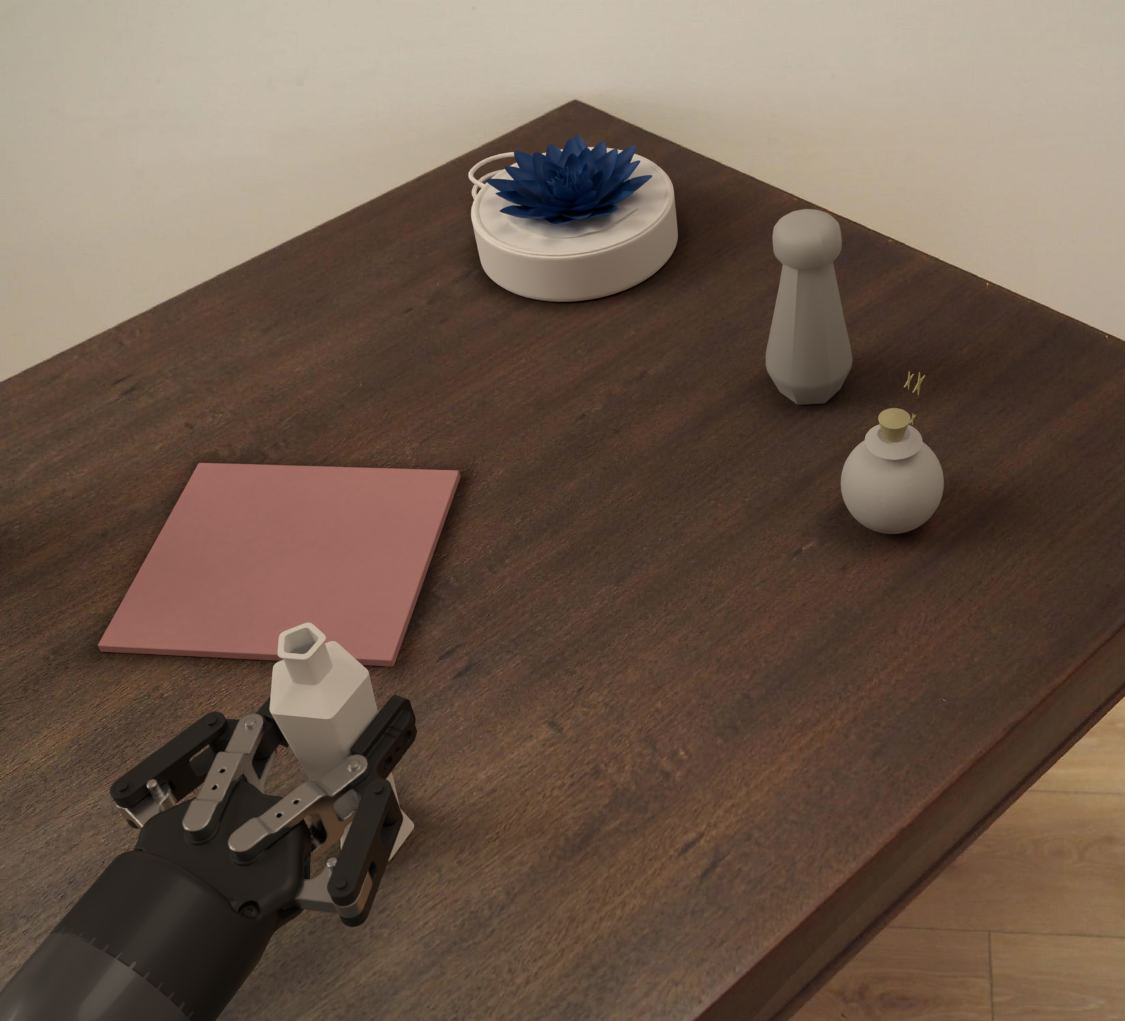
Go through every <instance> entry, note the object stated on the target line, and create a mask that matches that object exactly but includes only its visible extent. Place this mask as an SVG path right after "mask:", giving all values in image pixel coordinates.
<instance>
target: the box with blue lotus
mask: <svg viewBox="0 0 1125 1021" xmlns="http://www.w3.org/2000/svg"><path fill="white" fill-rule="evenodd" d="M606 144H607V143H605V141H601V142H598V143H597V144H596V145H595V146H587V143H586V142H585V140H584V139H583V137H582V136H581V135H579V134H575V135H573V137H570V138H569V139H567V141H566V142H565V144H564V146H563V148H562V149H561V148H559V147H558V146H556V145H555V144H552V143H549V144H548V145H547V146H546V151H545V152H542V153H541V152H538V151H534V152H533V153H532V154H529V153H527V152H524V151H520V150H514V151H510V152H504V153H498V154H495V155H492V156H489V157H486V158H484V159H482V160H480V161H479V162H477V163H476V164H475V165H474V166H472V167H471V168H470V169H469V171H468V175H467V177H468V179H469V181H470V182H471V183H472V184H473V186H472V189H471V197H472V198H473V201H472V205H471V209H470V217H471V218H470V219H471V223H472V227H473V233H474V237H475V243H476V246H477V252H478V256H479V261H480V264H481V267H482V269H483V271H484V272H485V274H486V276H488V278H489V279H491V280H492V281H493V282H494V283H495V284H497V285H498V286H499V287H501V288H502V289H505V290H506V291H508V292H511V294H512V293H513V294H515V295H517V296H521V297H524V298H528V299H531V300H537V301H544V302H557V303H569V302H581V301H583V302H584V301H589V300H595V299H601V298H605V297H609V296H612V295H615V294H618V293H620V292H621V293H622V292H624V291H626V290H628V289H631V288H634V287H635V286H637V285H639V284H641V283H643V282H644V281H646V280H647V279H649V278H650V277H652V276H653V275H655V274H656V273H657V272H658V271H659V270H660V269H661V268H662V267H663V266H664V265H666V264H667V262H668V261H669V260H670V258H671V257H672V255H673V254H674V251H675V249H676V247H677V244H678V239H679V230H678V220H677V209H676V200H675V190H674V185H673V183H672V180H671V178H670V177H669V175H668V174H667V173H666V172H665V170H664V169H662V168H661V167H660V166H659V165H657V163H656V162H654V161H652V160H650V159H649V158H646V157H644V156H642V155H639V154H637V153H636V150H637V145H635V144H633V145H630V146H629V147H626V148H625V149H618V148H612V147H611V148H610V147H607V145H606ZM506 158H514V159H515V162H514V163H513V164H511V165H504V169H498V170H494V171H491V172H489V173H486V174H484V175H483V176H481V177H480V178H479V179H476V177H475V176H474V174H475V172H477V170H479V168H481V167H482V166H485V165H486V164H488V163H491V162H493V161H497V160H501V159H506ZM484 182H486V183H484ZM479 188H480V190H478V189H479ZM477 192H478V193H477Z"/></svg>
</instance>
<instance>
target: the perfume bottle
mask: <svg viewBox="0 0 1125 1021" xmlns="http://www.w3.org/2000/svg"><path fill="white" fill-rule="evenodd" d="M325 640H326V636H325V635H324V634H323V633H322V632H321V631H320V630H319V629H318V628H317V627H316V626H314V625H313V624H312V623H304V624H301V625H299V626H296V627H294V628H291V629H289V630H286V631H284V632H282V633H281V634H280V635H279V640H278V656H279V657H280V658H283V660H282V661H277V662H276V663H275V664H274V665H273V666H272V674H271V686H270V687H271V688H270V696H271V697H270V696H269V697H270V713H271V714H272V716H273V718H274V719H275V721H276V723H277V725H278V726H279V728H280V730H281V732H282V733H283V735H284V737H285V739H286V740H287V742H288V744H289V746H288V747H290V749H291V750H292V753H293V755H294V756H295V758H296V759H297V761H298V763H299V765H300V766H301V768H302V770H303V772H304V773H305V775H306V778H308V780H312V781H317V780H319V779H320V778H322V777H323V776H324V775H325V774H327V773H328V772H329V771H331V770H332V769H333V768H334V767H336V766H337V765H338V764H340V763H341V762H342V761H343V760H345V759H346V758H347V757H349V756H352V754H351V751H350V749H351V747H352V746H353V745H354V743H355V742H356V741H357V740H358V738H359V737H360V736H361V735H362V733H363V732H364V731H365V729H366V728H367V727H368V726H369V724H370V723H371V722H372V720H373V719H374V718H375V717H376V715H377V714H378V713H379V710H378V707H377V706H378V705H377V701H376V698H375V693H374V689H373V688H374V687H373V685H372V681H371V675H370V671H369V670H368V669H367V668H366V666H365V665H362V664H360V663H359V662H358V661H357V660H356V659H355V658H354V657H353V656H352V655H350V654H349V653H348V652H347V651H346V650H345V649H344V648H343V647H342V646H341V645H339V644H338V643H337V642H335V641H330V642H327V643H324V642H325ZM386 780H388V781H389V782H390V783H391V786H392V788H393V791H394V793H395V796H396V799H397V801H398V804H399V807H400V808H401V805H400V801H399V798H398V794H397V789H396V784H395V781H394V776H393V771H392V772H391V773H390V774H389V776H388V777H387V778H386ZM401 812H402V815H403V822H402V825H401V828H400V830H399V833H398V836H397V839H396V841H395V844H394V847H393V850H392V852H391V855H390V858H389V861H388V863H389V862H390V861H391V860H392V858H394V856H395V855H396V853H397V852H398V851H399V849H400V848H401V846H402V845H403V844H404V842H405V841H406V839H407V838H408V837H409V835H411V833H412V831H413V830H414V828H415V824H414V822H413V820H411V819H410V818H409V816H407V814H406V813H405V812H404V811H403V810H402V809H401ZM351 823H352V822H351ZM351 823H350V824H348V825H347V826H346V828H345V830H344V834H343V836H342V837H341V839H340V850H341V849H342V846H343V844H344V841H345V839H346V836H347V834H348V831H349V829H350V826H351Z"/></svg>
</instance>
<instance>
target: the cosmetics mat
mask: <svg viewBox="0 0 1125 1021" xmlns="http://www.w3.org/2000/svg"><path fill="white" fill-rule="evenodd" d="M460 480H461V474H460V470H456V469H455V470H454V469H424V468H423V469H422V468H421V469H420V468H394V467H393V468H389V467H388V468H387V467H359V466H358V467H354V466H323V465H320V466H319V465H292V464H291V465H290V464H289V465H288V464H287V465H286V464H259V463H258V464H253V463H252V464H250V463H221V462H218V463H217V462H215V463H214V462H198V463H197V465H196V467H195V469H194V471H193V472H192V474H191V476H190V478H189V479H188V482H187V483H186V485H185V487H184V489H183V491H182V492H181V494H180V496H179V498H178V500H177V501H176V503H175V504H174V507H173V508H172V511H171V512H170V514H169V516H168V518H167V520H166V521H165V523H164V524H163V526H162V529H161V530H160V532H159V534H158V536H157V537H156V539H155V541H154V543H153V545H152V547H151V548H150V550H149V552H148V554H147V555H146V557H145V559H144V561H143V563H142V564H141V567H140V568H139V570H138V572H137V573H136V576H135V577H134V579H133V581H132V583H131V584H130V586H129V588H128V590H127V592H126V593H125V595H124V597H123V599H122V601H121V602H120V605H119V606H118V608H117V609H116V611H115V613H114V615H113V617H112V619H111V621H110V622H109V624H108V626H107V628H106V630H105V631H104V633H103V635H102V637H101V639H100V641H99V642H98V644H97V647H98V649H99V651H100V652H102V653H116V654H117V653H118V654H119V653H121V654H138V655H139V654H140V655H155V656H156V655H157V656H158V655H159V656H176V657H177V656H178V657H197V658H199V657H200V658H215V659H237V660H256V661H275V662H276V661H277V662H279V661H282V660H283V658H280V657H279V656H278V640H279V635H280V634H281V633H282V632H284V631H286V630H289V629H291V628H294V627H296V626H299V625H301V624H304V623H312V624H313V625H314V626H316V627H317V628H318V629H319V630H320V631H321V632H322V633H323V634H324V635H325V636H326V640H325V642H324V643H327V642H330V641H335V642H337V643H338V644H339V645H341V646H342V647H343V648H344V649H345V650H346V651H347V652H348V653H349V654H350V655H352V656H353V657H354V658H355V659H356V660H357V661H358V662H359V663H360V664H362V665H363V666H371V667H372V666H374V667H391V668H393V667H394V666H395V664H396V661H397V659H398V656H399V653H400V651H401V650H400V649H401V648H402V644H403V641H404V638H405V635H406V633H407V630H408V627H409V625H410V622H411V619H412V616H413V612H414V611H415V607H416V605H417V602H418V599H419V596H420V594H421V590H422V587H423V586H424V582H425V579H426V576H427V573H428V571H429V567H430V565H431V561H432V559H433V556H434V553H435V550H436V547H437V544H438V543H439V542H438V541H439V539H440V536H441V533H442V531H443V528H444V525H445V522H446V519H447V516H448V513H449V510H450V508H451V505H452V502H453V499H454V497H455V495H456V492H457V489H458V485H459V484H460V483H459V482H460Z"/></svg>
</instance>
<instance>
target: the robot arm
mask: <svg viewBox="0 0 1125 1021" xmlns="http://www.w3.org/2000/svg"><path fill="white" fill-rule="evenodd" d="M270 697H271V695H270V696H268V698H267V699H266V701H265V702H264V703H263V704H262V705H261V706H260V708H259V709H258V710H257V711H256V712H255V713H248V714H245V715H244V716H243V717H241V718H239V719H238V718H226V716H225V714H224V713H222V712H221V711H215V710H214V711H209V712H208V713H206V714H205V715H203V716H201V718H199V719H198V720H197V721H195V722H194V723H192V724H191V725H190V726H188V727H187V728H185V729H184V730H183V731H181V732H180V733H178V734H177V735H176V736H174V737H173V738H172V739H170V740H169V741H167V743H165V744H164V745H162V746H161V747H159V748H158V749H157V750H156V751H154V752H153V753H152V754H150V755H149V756H147V757H146V758H145V759H143V760H142V761H141V762H139V763H138V764H136V765H135V766H134V767H132V768H131V769H130V770H129V771H127V772H125V773H124V774H123V775H122V776H120V777H119V778H117V779H116V780H115V781H114V782H113V783H112V784H111V786H110V788H109V794H110V797H111V798H112V800H113V801H114V804H115V807H117V809H118V811H119V812H120V814H121V815H122V818H124V819H125V821H126V822H127V824H128V825H129V827H130V828H131V829H135V830H140V831H139V834H138V838H137V841H136V844H135V846H134V848H133V850H127V851H124V852H122V853H120V854H118V855H117V856H116V857H115V858H113V860H112V861H111V862H110V863H109V864H108V866H107V867H106V868H105V869H104V870H103V871H102V872H101V874H100V875H99V876H98V877H97V878H96V880H94V881H93V883H92V884H91V885H90V886H89V888H88V889H87V890H86V891H85V892H84V893H83V895H82V896H81V897H80V898H79V899H78V901H76V903H75V904H74V905H73V906H72V907H71V909H70V910H69V911H68V912H67V913H66V914H65V915H64V917H62V919H61V920H60V921H59V922H58V924H56V926H55V927H54V928H53V929H52V931H51V932H50V933H49V934H48V935H47V936H46V938H44V940H43V941H42V942H41V943H39V946H38V947H37V948H36V949H35V950H34V951H33V952H32V953H31V955H30V956H29V957H28V958H27V959H26V961H25V962H24V963H23V964H22V965H21V967H19V968H18V970H17V971H16V972H15V973H14V975H13V976H12V977H11V978H10V979H9V980H8V982H7V983H6V984H5V985H4V986H3V987H2V989H1V990H0V1021H217V1020H218V1018H219V1017H220V1016H221V1014H222V1013H223V1011H224V1010H225V1009H226V1007H228V1005H229V1003H230V1002H231V1001H232V999H233V998H234V997H235V996H236V994H237V993H238V992H239V990H240V989H241V987H242V986H243V984H244V983H245V982H246V981H247V979H248V978H249V976H250V975H251V974H252V973H253V971H254V970H255V969H256V967H257V966H258V965H259V963H260V961H261V959H262V957H263V955H264V953H265V951H266V948H267V946H268V945H269V942H270V940H271V938H272V937H273V935H274V934H275V933H276V932H277V931H278V930H280V929H281V928H282V927H283V926H284V925H286V924H288V923H289V922H291V921H293V920H294V919H296V918H297V917H298V916H300V915H301V914H302V913H303V912H304V911H313V912H321V913H328V914H329V913H330V914H336V915H338V916H339V918H340V921H341V922H342V924H343V925H344V926H346V927H349V928H355V927H359V926H361V925H363V924H364V923H365V922H366V921H367V919H368V918H369V915H370V913H371V909H372V907H373V904H374V901H375V898H376V896H377V893H378V890H379V888H380V885H381V882H382V879H383V877H384V874H385V871H386V868H387V866H388V864H389V862H390V861H389V858H390V855H391V852H392V850H393V847H394V844H395V841H396V839H397V836H398V833H399V830H400V828H401V825H402V822H403V815H402V812H401V810H402V809H401V806H400V803H399V804H398V801H399V800H398V801H397V799H396V796H395V793H394V791H393V788H392V786H391V783H390V782H389V781H388V780H386V778H387V777H388V776H389V774H390V773H391V772H392V773H393V770H394V769H395V768H396V766H398V764H399V763H400V761H401V760H402V758H403V757H404V756H405V755H406V753H407V752H408V750H409V749H410V748H411V747H412V745H413V744H414V742H415V741H416V739H417V734H418V729H417V726H416V722H417V720H416V714H415V713H414V709H413V706H412V703H411V700H410V699H409V698H406V697H404V696H401V695H398V694H392V696H390V697H389V699H388V700H387V701H386V703H385V704H384V705H383V706H382V707H381V709H380V710H379V711H378V714H377V715H376V717H375V718H374V719H373V720H372V722H371V723H370V724H369V726H368V727H367V728H366V729H365V731H364V732H363V733H362V735H361V736H360V737H359V738H358V740H357V741H356V742H355V743H354V745H353V746H352V747H351V749H350V751H351V754H352V756H349V757H347V758H346V759H345V760H343V761H342V762H341V763H340V764H338V765H337V766H336V767H334V768H333V769H332V770H331V771H329V772H328V773H327V774H325V775H324V776H323V777H322V778H320V779H319V780H317V781H312V780H309V779H308V780H305V781H304V782H302V783H300V784H299V785H298V786H297V787H296V788H295V789H293V790H292V791H290V792H289V793H288V794H287V795H286V796H284V797H283V796H279V795H272V794H265V784H266V781H267V779H268V776H269V774H270V771H271V770H272V767H273V765H274V762H275V760H276V758H277V755H278V747H279V746H282V747H285V748H287V749H288V747H290V746H289V744H288V742H287V740H286V739H285V737H284V735H283V733H282V732H281V730H280V728H279V726H278V725H277V723H276V721H275V719H274V718H273V716H272V714H271V713H270ZM207 746H208V747H207ZM206 747H207V748H206ZM203 749H204V750H203ZM202 750H203V751H202ZM200 751H201V752H200ZM199 752H200V753H199ZM196 754H197V755H196ZM195 755H196V756H195ZM194 756H195V757H194ZM200 786H201V787H200ZM199 787H200V790H199V791H198V793H197V795H196V796H194V797H191V798H190V799H188V800H185V801H183V802H181V800H183V799H185V798H186V797H187V796H188V795H190V794H191V793H192V792H193V791H195V790H196V789H198V788H199ZM179 802H181V803H179ZM399 806H400V807H399ZM308 816H310V818H311V823H310V825H309V826H308V824H307V821H306V820H305V818H307V817H308ZM351 822H352V823H351ZM350 823H351V826H350V829H349V831H348V834H347V836H346V839H345V841H344V844H343V846H342V849H341V848H340V852H339V854H338V857H335V856H331V857H330V858H328V859H327V860H326V862H325V865H324V867H323V869H322V870H321V872H320V873H319V874H318V875H316V876H314V877H312V878H311V870H312V868H311V866H312V865H311V864H312V863H313V862H314V861H315V860H317V859H318V858H320V857H321V855H323V854H324V853H325V852H327V851H328V850H329V849H330V848H332V847H333V846H335V844H336V843H338V842H339V841H341V837H342V836H343V834H344V830H345V828H346V826H347V825H348V824H350ZM388 861H389V862H388Z"/></svg>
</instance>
